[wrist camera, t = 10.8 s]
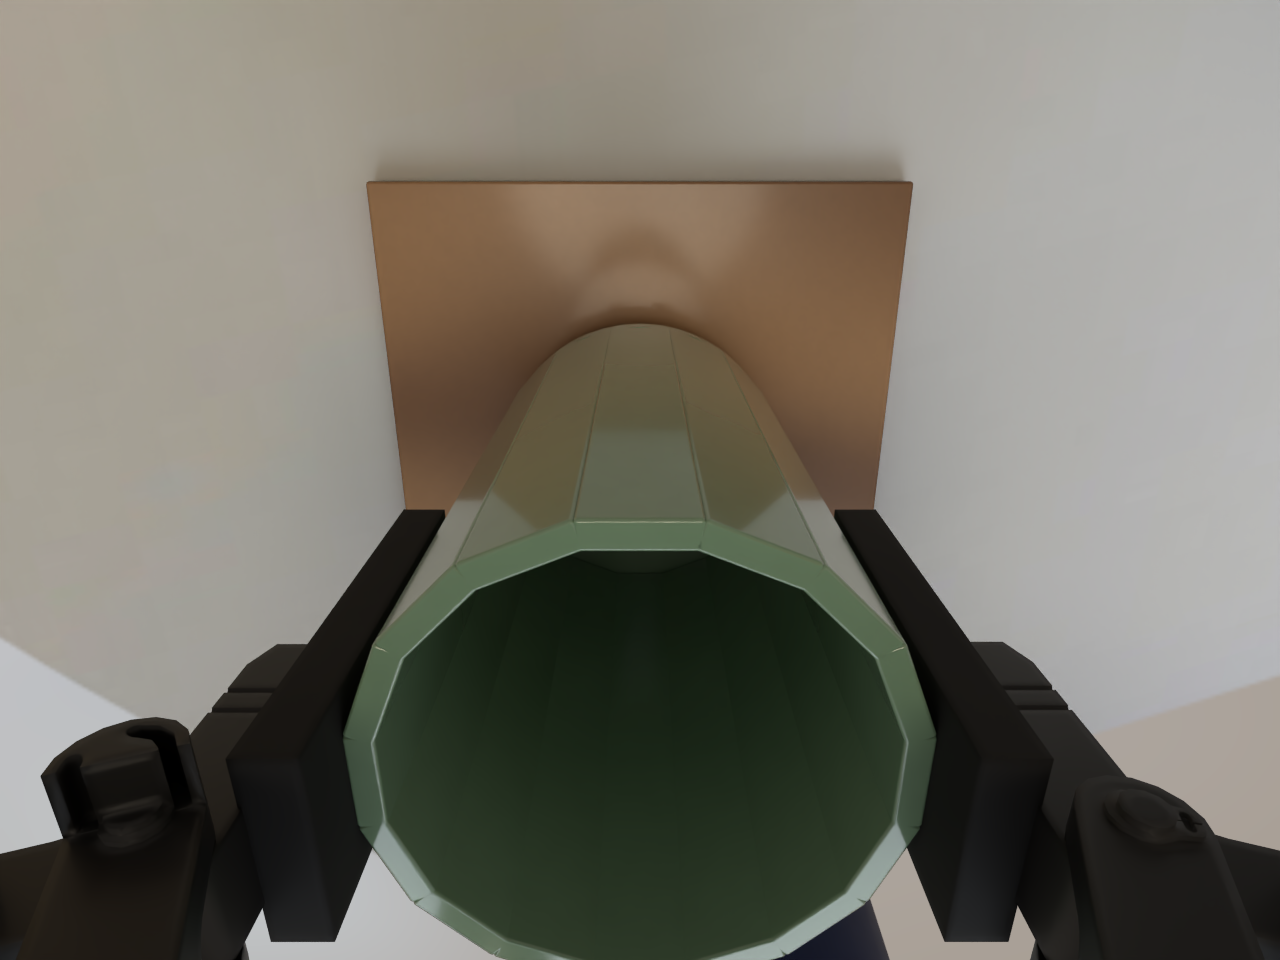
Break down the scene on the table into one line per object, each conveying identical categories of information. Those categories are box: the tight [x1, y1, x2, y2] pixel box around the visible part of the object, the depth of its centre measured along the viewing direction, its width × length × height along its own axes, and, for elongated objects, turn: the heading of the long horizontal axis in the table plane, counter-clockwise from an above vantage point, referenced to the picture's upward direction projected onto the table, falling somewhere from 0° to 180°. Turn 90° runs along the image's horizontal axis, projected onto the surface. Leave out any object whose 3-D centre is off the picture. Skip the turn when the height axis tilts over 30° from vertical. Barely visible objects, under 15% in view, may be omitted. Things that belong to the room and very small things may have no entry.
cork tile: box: [366, 181, 913, 517], centre depth 22 cm, size 14×14×1 cm
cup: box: [343, 324, 937, 960], centre depth 15 cm, size 7×7×12 cm
